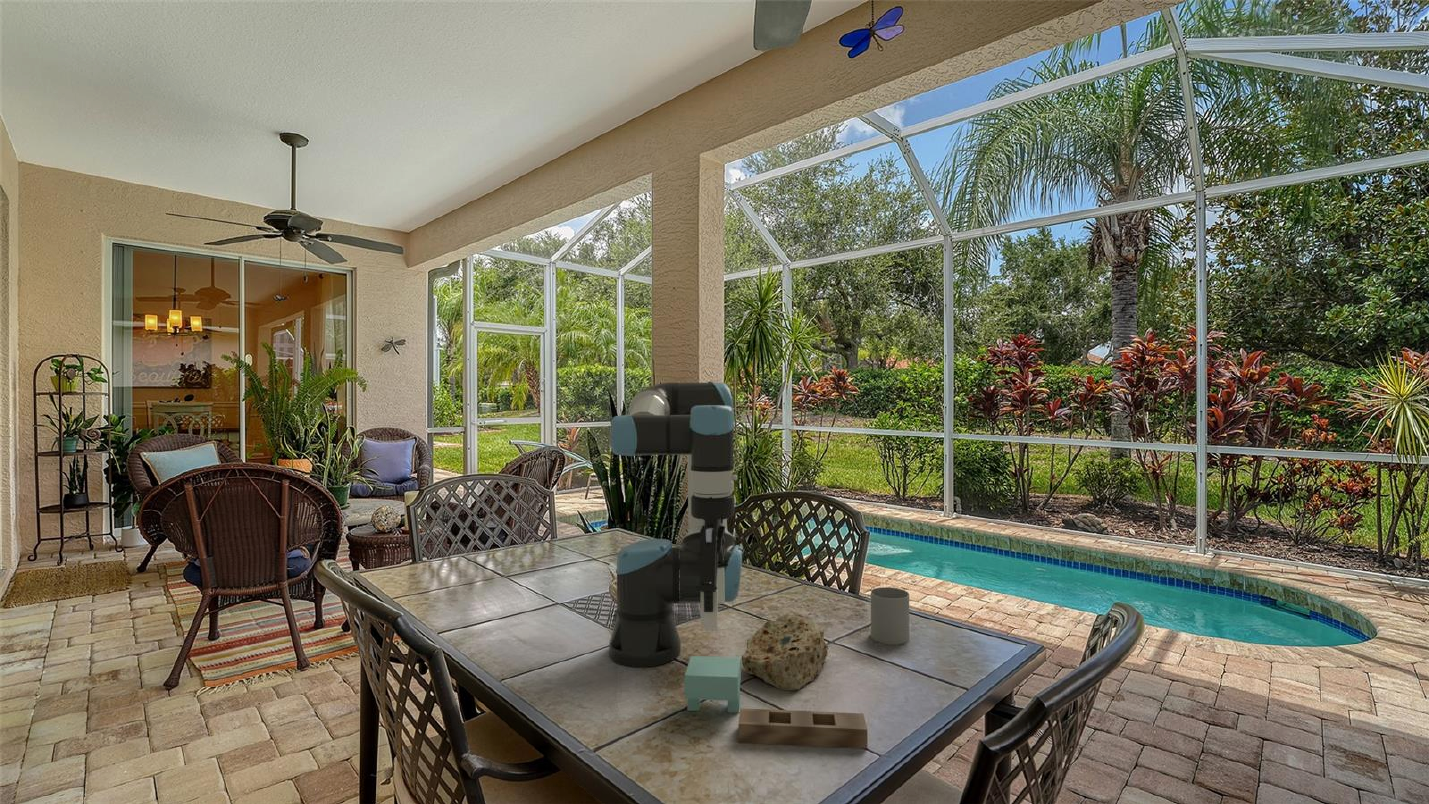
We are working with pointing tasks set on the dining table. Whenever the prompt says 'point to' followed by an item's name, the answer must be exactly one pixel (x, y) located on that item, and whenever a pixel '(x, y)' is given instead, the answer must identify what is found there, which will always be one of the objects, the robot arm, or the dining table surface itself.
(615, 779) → the dining table surface
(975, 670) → the dining table surface
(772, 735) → the rail
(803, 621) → the rock
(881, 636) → the cup
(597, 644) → the dining table surface
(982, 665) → the dining table surface
